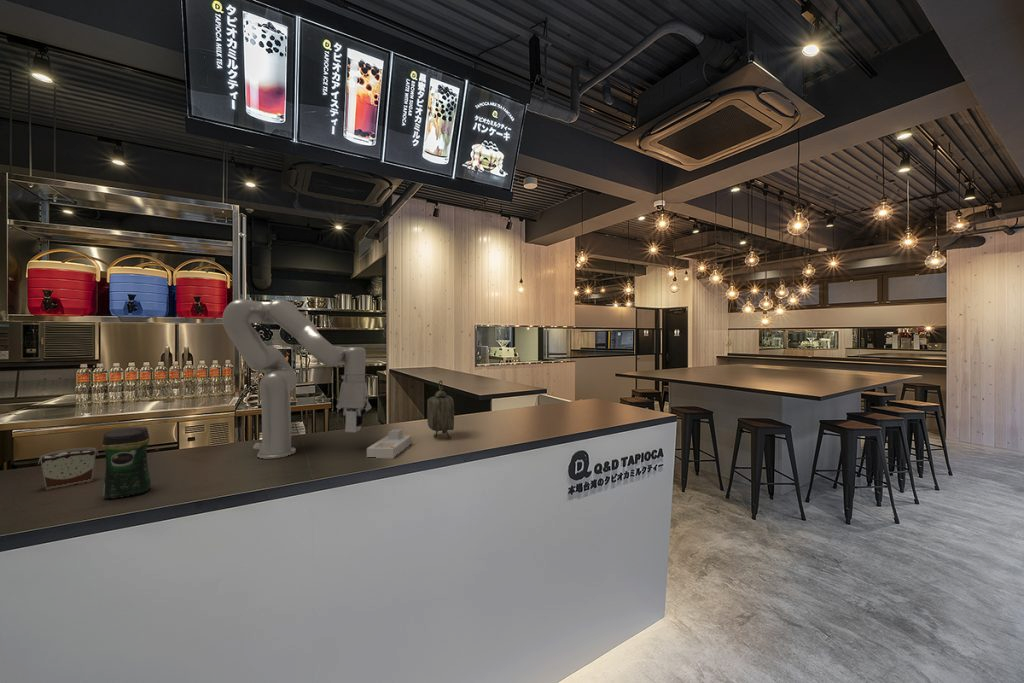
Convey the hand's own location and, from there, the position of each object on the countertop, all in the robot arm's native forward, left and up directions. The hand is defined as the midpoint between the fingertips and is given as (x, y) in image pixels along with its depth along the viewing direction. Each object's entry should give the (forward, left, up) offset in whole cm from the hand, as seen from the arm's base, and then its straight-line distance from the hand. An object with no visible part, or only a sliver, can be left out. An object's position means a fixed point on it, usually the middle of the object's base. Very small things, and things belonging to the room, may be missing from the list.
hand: (353, 424), depth 160 cm
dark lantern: (+29, +22, -10) cm, 38 cm away
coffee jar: (-43, -48, -10) cm, 65 cm away
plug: (0, 0, -2) cm, 2 cm away
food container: (-69, -42, -10) cm, 81 cm away
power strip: (+15, 0, -10) cm, 18 cm away
